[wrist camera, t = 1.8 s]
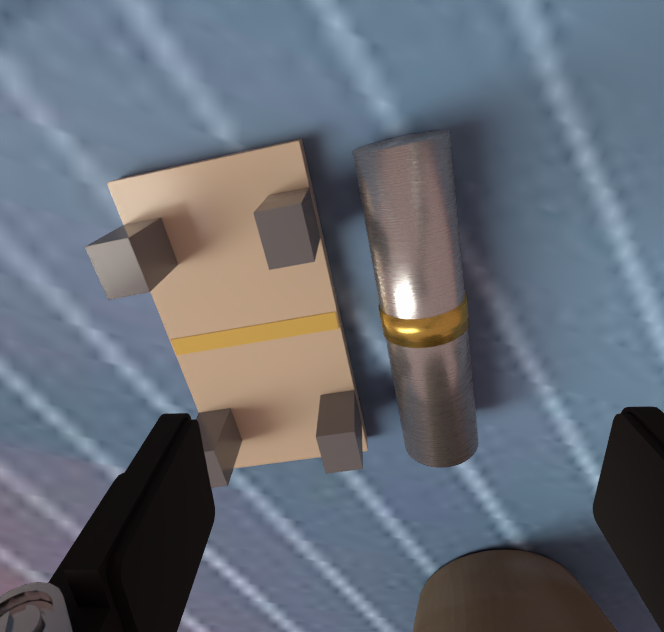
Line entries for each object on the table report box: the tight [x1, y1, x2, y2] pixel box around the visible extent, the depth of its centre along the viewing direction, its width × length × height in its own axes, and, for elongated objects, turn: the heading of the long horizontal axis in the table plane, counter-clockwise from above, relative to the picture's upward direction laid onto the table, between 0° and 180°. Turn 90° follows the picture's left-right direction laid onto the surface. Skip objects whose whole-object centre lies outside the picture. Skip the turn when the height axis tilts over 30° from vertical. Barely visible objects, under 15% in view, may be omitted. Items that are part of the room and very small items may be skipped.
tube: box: [353, 130, 478, 467], centre depth 28 cm, size 20×5×5 cm, turn 12°
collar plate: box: [85, 139, 368, 488], centre depth 29 cm, size 11×22×6 cm, turn 12°
